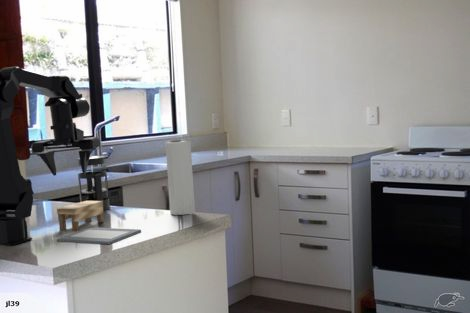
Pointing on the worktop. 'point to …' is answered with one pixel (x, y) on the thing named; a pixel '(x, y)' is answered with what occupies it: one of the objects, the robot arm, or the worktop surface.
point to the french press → (94, 182)
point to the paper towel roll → (180, 177)
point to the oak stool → (80, 213)
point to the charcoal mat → (99, 235)
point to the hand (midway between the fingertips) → (69, 174)
